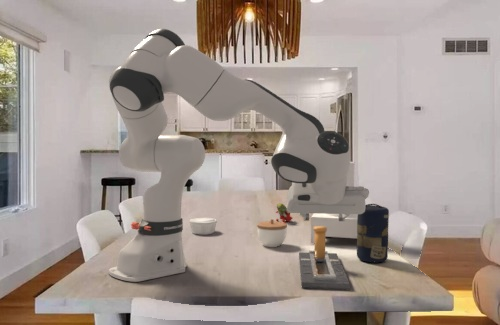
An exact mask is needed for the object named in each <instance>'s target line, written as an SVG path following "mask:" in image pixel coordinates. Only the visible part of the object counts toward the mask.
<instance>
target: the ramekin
mask: <svg viewBox="0 0 500 325" xmlns="http://www.w3.org/2000/svg"><path fill="white" fill-rule="evenodd" d="M217 222H218V221H217V219H216V218H213V217H212V218H211V217H196V218H191V219H189V224H190V231H191V233H192V234H194V235H199V236H200V235H211V234H214V233H215V231H216V226H217Z"/></svg>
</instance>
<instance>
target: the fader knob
mask: <svg viewBox="0 0 500 325" xmlns="http://www.w3.org/2000/svg"><path fill="white" fill-rule="evenodd" d="M313 231H315V244H314V250H313V251H314V257H315V259H316V261H323V262H324V258H325V251H326V236H325V232H326V231H327V227H324V226H314V227H313Z"/></svg>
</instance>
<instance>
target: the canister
mask: <svg viewBox="0 0 500 325" xmlns="http://www.w3.org/2000/svg"><path fill="white" fill-rule="evenodd" d="M389 217H390V211H389V208H388V207H385V206H382V205H379V204H377V203H368V204H366V206H365V212H364V213H362V214H358V216H357V238H356V256H357V258H358V259H359V260H361V261H364V262H368V263H383V262H386V261H387V260H388V253H389V252H388V249H389V222H390V221H389Z"/></svg>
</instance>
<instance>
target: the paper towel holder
mask: <svg viewBox="0 0 500 325" xmlns="http://www.w3.org/2000/svg"><path fill="white" fill-rule="evenodd" d="M346 186H354V187H355V162H354V161H350V166H349V171H348V174H347V184H346ZM338 216H339V214H319V213H312V215H311V217H310V220H311V221H310V244H311V243H315V231H313V227H314V226H324V227H327V231H326V232H325V238H326V237H329V238H330V237H331V238H345V239H357V216H358V214H350V215H349V216H348V217H347V218H345V221H339V218H338Z"/></svg>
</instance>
